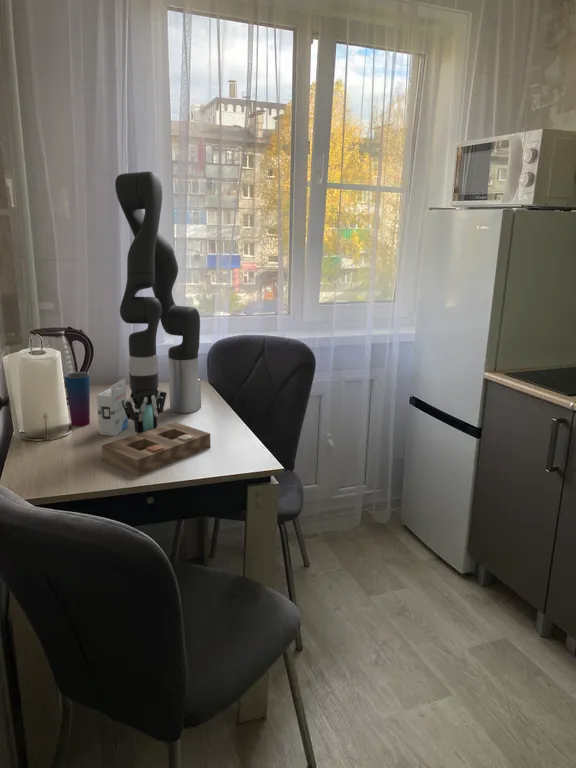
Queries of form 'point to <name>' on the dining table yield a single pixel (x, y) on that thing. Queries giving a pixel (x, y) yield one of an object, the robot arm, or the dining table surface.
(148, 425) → the plug
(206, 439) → the board
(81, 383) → the cup
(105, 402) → the ink box
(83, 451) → the dining table surface
